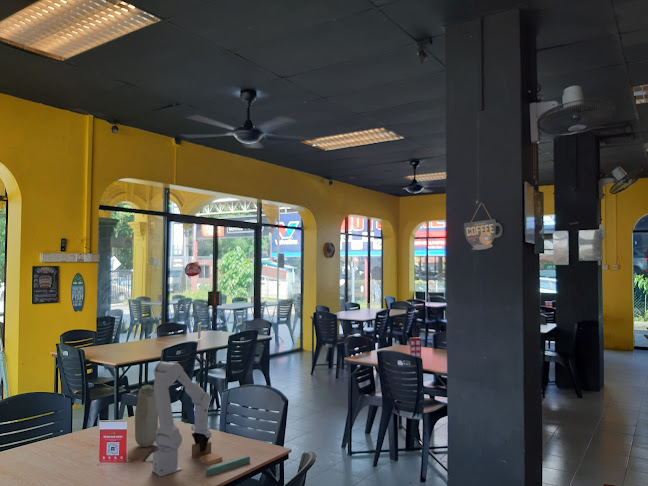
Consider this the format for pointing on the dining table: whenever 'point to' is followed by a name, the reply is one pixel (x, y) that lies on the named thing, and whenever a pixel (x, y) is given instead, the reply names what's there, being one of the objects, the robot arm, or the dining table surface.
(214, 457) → the tile
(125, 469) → the dining table surface
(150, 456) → the chocolate bar
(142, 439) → the olive grey vase
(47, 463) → the dining table surface
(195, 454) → the tall cardboard box
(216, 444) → the dining table surface
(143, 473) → the dining table surface
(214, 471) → the rail
